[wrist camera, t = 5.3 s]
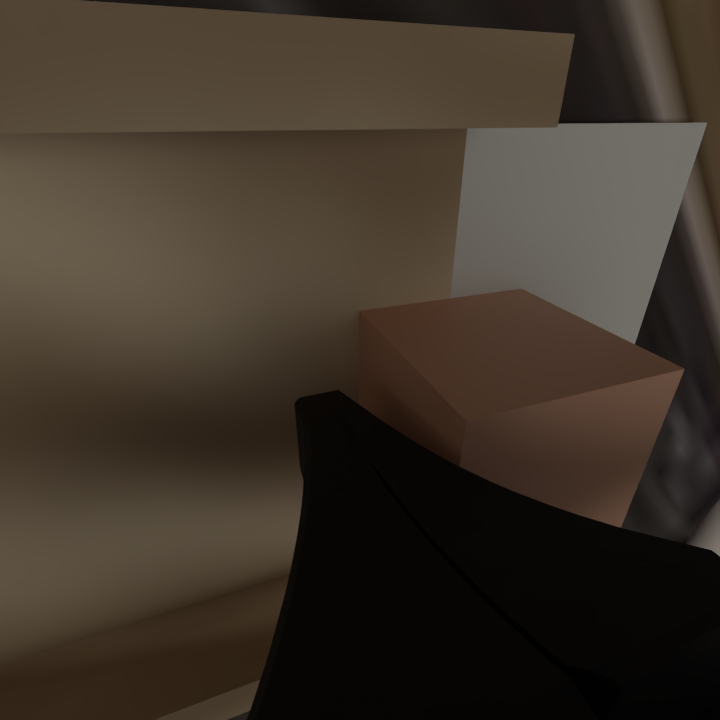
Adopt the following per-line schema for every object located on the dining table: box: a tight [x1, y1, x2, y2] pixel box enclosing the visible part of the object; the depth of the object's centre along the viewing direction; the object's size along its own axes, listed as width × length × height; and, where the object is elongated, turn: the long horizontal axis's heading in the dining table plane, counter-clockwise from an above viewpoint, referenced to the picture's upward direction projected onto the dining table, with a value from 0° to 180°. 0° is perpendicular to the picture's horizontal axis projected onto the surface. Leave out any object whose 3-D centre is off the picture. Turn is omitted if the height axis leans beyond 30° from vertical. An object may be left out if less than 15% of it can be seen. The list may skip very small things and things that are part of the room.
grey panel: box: [450, 123, 707, 344], centre depth 13 cm, size 12×7×1 cm, turn 179°
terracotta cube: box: [359, 289, 684, 528], centre depth 10 cm, size 4×4×4 cm
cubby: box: [0, 0, 575, 720], centre depth 9 cm, size 14×17×3 cm
